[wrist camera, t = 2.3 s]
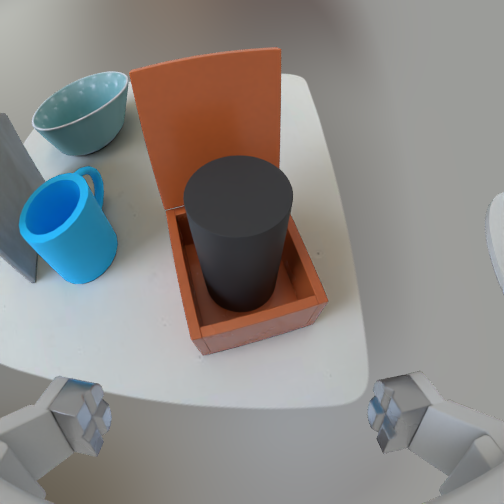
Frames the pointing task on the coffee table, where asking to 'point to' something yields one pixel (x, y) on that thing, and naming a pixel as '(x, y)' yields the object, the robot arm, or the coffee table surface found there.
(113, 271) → the coffee table surface
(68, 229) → the mug
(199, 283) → the orange open box
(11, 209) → the planter
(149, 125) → the orange box lid
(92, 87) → the bowl
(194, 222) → the tapered grey cylinder
